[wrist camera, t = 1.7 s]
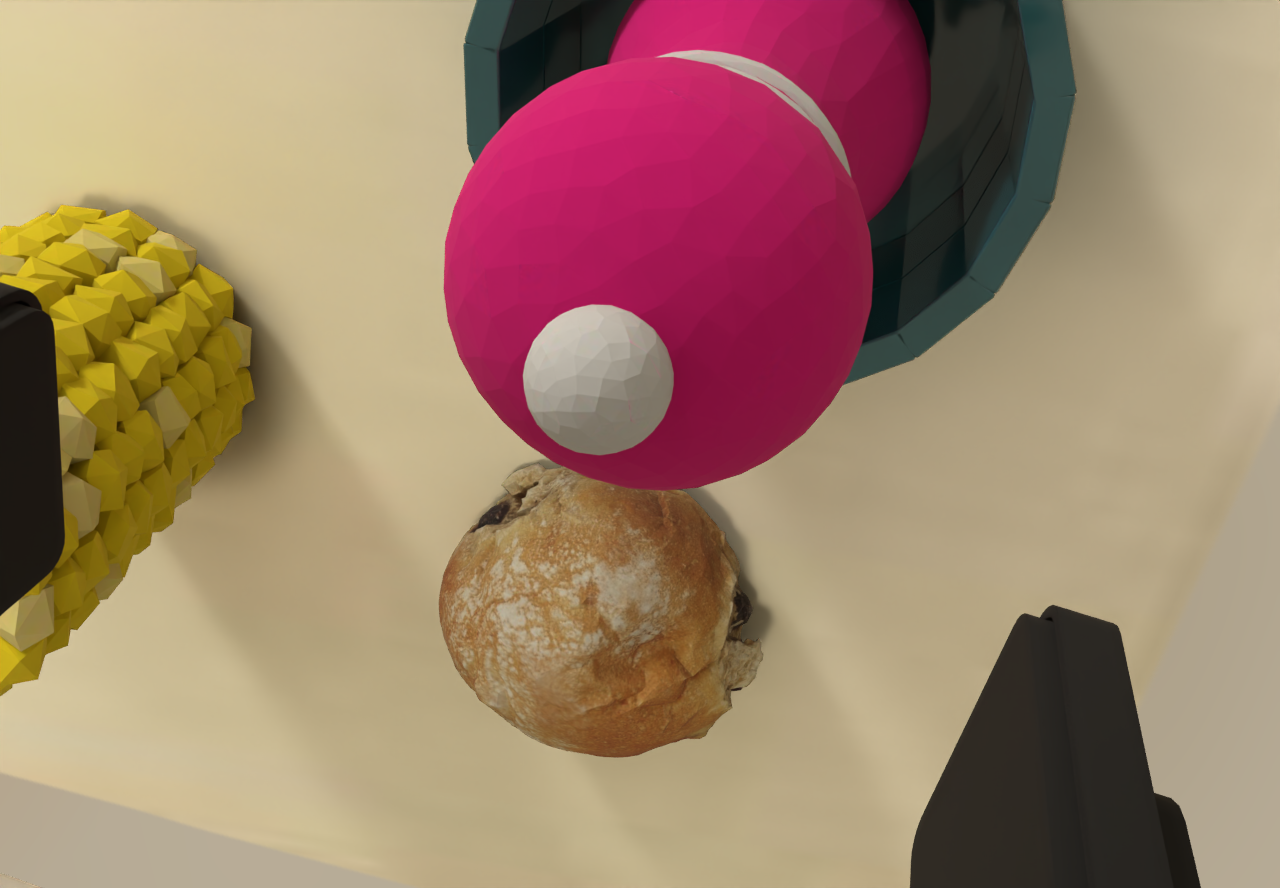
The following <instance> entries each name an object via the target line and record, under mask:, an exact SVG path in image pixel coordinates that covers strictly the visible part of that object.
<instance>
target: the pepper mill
mask: <svg viewBox="0 0 1280 888" xmlns="http://www.w3.org/2000/svg"><path fill="white" fill-rule="evenodd" d="M930 103H931V66H930V61H929V56H928V51H927V46H926V41H925V37H924V34H923V31H922V29H921V26H920V24H919V21H918V19H917V16H916V13H915V11H914V10H913V8H912V6H911V5H910V3H909V1H908V0H634V1H633V2H632V4H631V5H630V7H629V9H628V11H627V13H626V14H625V16H624V18H623V20H622V21H621V23H620V25H619V27H618V29H617V32H616V35H615V37H614V40H613V43H612V45H611V48H610V51H609V56H608V61H607V65H604V66H600V67H596V68H592V69H588V70H584V71H581V72H579V73H577V74H575V75H573V76H571V77H569V78H567V79H565V80H563V81H561V82H559V83H557V84H554V85H552V86H550V87H549V88H548V89H546V90H545V91H544V92H542V93H541V94H540V95H538V96H537V97H536V98H534V99H533V100H532V101H530V102H529V103H528V104H526V105H525V106H524V107H522V108H521V109H520V110H518V111H517V112H516V113H514V114H513V115H512V116H511V117H510V119H509V120H508V121H507V122H506V123H505V124H504V125H503V126H502V128H501V129H500V130H499V131H498V132H497V133H496V134H495V136H494V137H493V138H492V139H491V140H490V141H489V142H488V144H487V145H486V146H485V148H484V149H483V151H482V153H481V154H480V156H479V157H478V159H477V161H476V162H475V164H474V166H473V167H472V169H471V170H470V172H469V174H468V176H467V178H466V180H465V183H464V185H463V188H462V190H461V192H460V195H459V197H458V200H457V202H456V204H455V207H454V210H453V214H452V218H451V222H450V226H449V230H448V233H447V237H446V241H445V268H444V294H445V301H446V309H447V317H448V323H449V326H450V329H451V332H452V335H453V338H454V341H455V344H456V347H457V351H458V354H459V357H460V358H461V360H462V362H463V364H464V366H465V368H466V369H467V371H468V373H469V375H470V377H471V379H472V381H473V382H474V384H475V386H476V388H477V390H478V392H479V393H480V394H481V395H482V397H483V398H484V399H485V400H486V402H487V403H488V404H489V405H490V407H491V408H492V409H493V410H494V411H495V413H496V414H497V415H498V416H499V418H500V419H501V420H502V421H503V422H504V423H505V424H506V425H507V426H508V427H509V428H511V429H512V430H513V431H514V432H515V433H516V434H517V435H518V436H519V437H520V438H521V439H522V440H524V441H525V442H526V443H527V444H528V445H530V446H531V447H533V448H534V449H536V450H537V451H539V452H540V453H541V454H543V455H544V456H546V457H547V458H549V459H550V460H552V461H553V462H555V463H557V464H559V465H562V466H564V467H566V468H568V469H570V470H572V471H575V472H577V473H579V474H581V475H583V476H586V477H588V478H591V479H595V480H598V481H602V482H606V483H610V484H613V485H617V486H621V487H625V488H630V489H645V490H660V491H665V490H676V489H688V488H698V487H701V486H704V485H707V484H711V483H714V482H717V481H720V480H723V479H726V478H730V477H733V476H736V475H739V474H742V473H744V472H746V471H748V470H750V469H752V468H754V467H756V466H758V465H760V464H762V463H764V462H766V461H767V460H769V459H770V458H772V457H773V456H775V455H776V454H778V453H779V452H780V451H782V450H783V449H784V448H786V447H787V446H788V445H790V444H791V443H792V442H794V441H795V440H796V439H798V438H799V437H800V436H802V435H803V434H804V433H805V432H806V431H807V430H808V429H809V428H810V426H811V425H812V424H813V423H814V422H815V421H816V420H817V418H818V417H819V416H820V415H821V414H822V413H823V412H824V410H825V409H826V408H827V407H828V406H829V405H830V404H831V402H832V401H833V399H834V397H835V396H836V394H837V393H838V391H839V390H840V388H841V387H842V385H843V383H844V382H845V380H846V379H847V377H848V376H849V373H850V371H851V368H852V366H853V363H854V361H855V359H856V356H857V354H858V351H859V349H860V346H861V344H862V340H863V336H864V332H865V328H866V325H867V321H868V317H869V313H870V309H871V304H872V285H873V263H872V251H871V240H870V232H869V228H868V225H867V223H868V222H869V221H870V220H871V219H872V218H874V217H875V216H876V215H877V214H878V213H879V212H880V211H881V210H882V209H883V208H884V207H885V206H886V205H887V203H888V202H889V201H890V200H891V198H892V197H893V196H894V194H895V193H896V192H897V191H898V189H899V188H900V187H901V185H902V183H903V181H904V179H905V177H906V176H907V174H908V172H909V170H910V168H911V166H912V165H913V162H914V160H915V157H916V155H917V152H918V150H919V147H920V144H921V141H922V138H923V135H924V132H925V129H926V126H927V120H928V114H929V109H930Z"/></svg>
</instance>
